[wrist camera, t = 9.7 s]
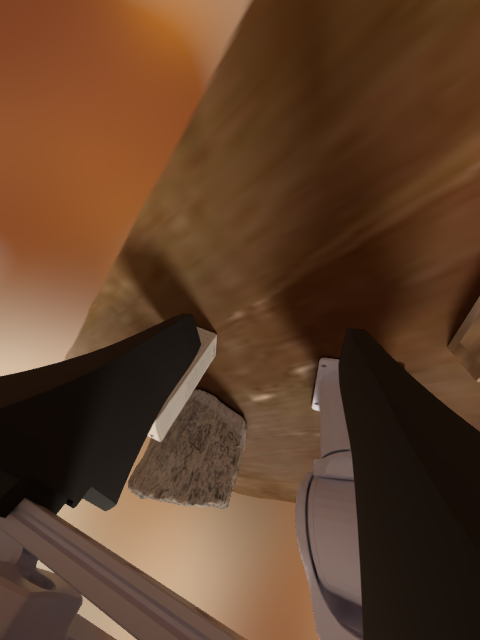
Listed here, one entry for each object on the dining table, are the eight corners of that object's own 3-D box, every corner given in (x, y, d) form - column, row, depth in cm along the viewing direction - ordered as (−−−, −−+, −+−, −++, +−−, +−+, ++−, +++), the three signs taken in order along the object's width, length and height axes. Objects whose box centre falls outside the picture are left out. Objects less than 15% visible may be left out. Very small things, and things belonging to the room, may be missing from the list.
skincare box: (217, 332, 24) (156, 422, 15) (216, 356, 27) (163, 445, 18) (176, 319, 26) (94, 395, 16) (178, 343, 28) (109, 420, 19)
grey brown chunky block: (232, 451, 44) (202, 546, 32) (168, 414, 44) (115, 495, 33) (270, 423, 32) (245, 555, 21) (182, 373, 33) (108, 476, 21)
